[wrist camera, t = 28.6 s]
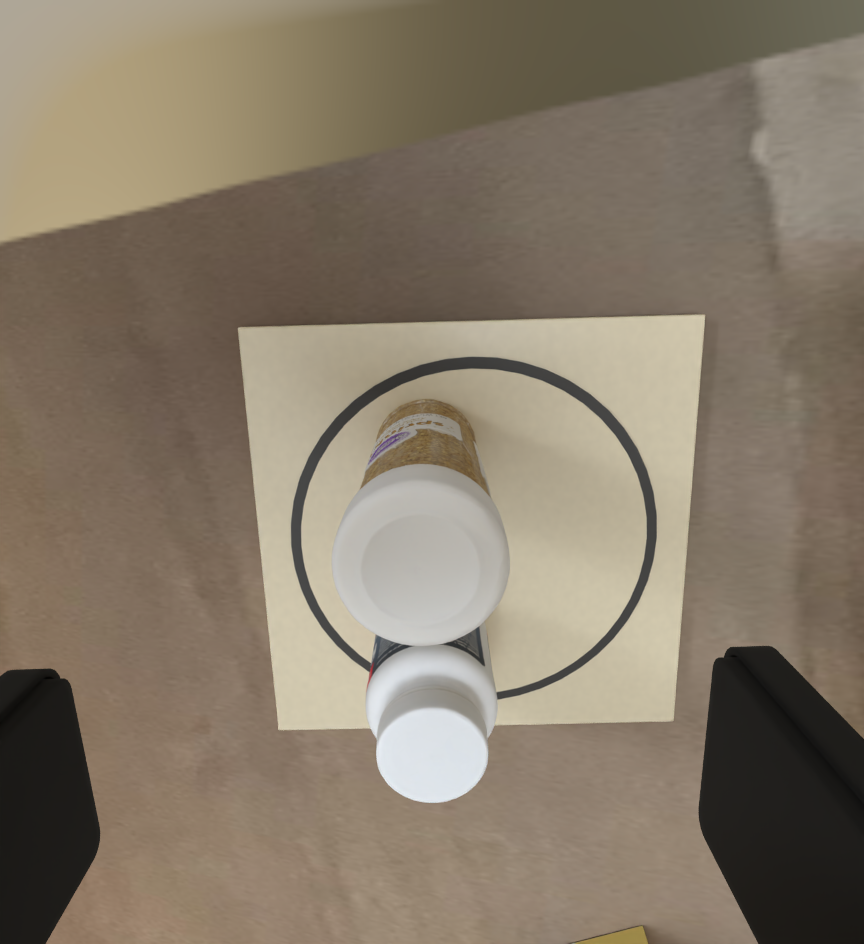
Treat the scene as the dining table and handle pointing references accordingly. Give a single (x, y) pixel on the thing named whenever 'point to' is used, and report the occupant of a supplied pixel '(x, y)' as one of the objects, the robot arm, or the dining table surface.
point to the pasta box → (620, 937)
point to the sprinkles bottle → (422, 532)
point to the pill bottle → (432, 714)
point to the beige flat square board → (512, 490)
